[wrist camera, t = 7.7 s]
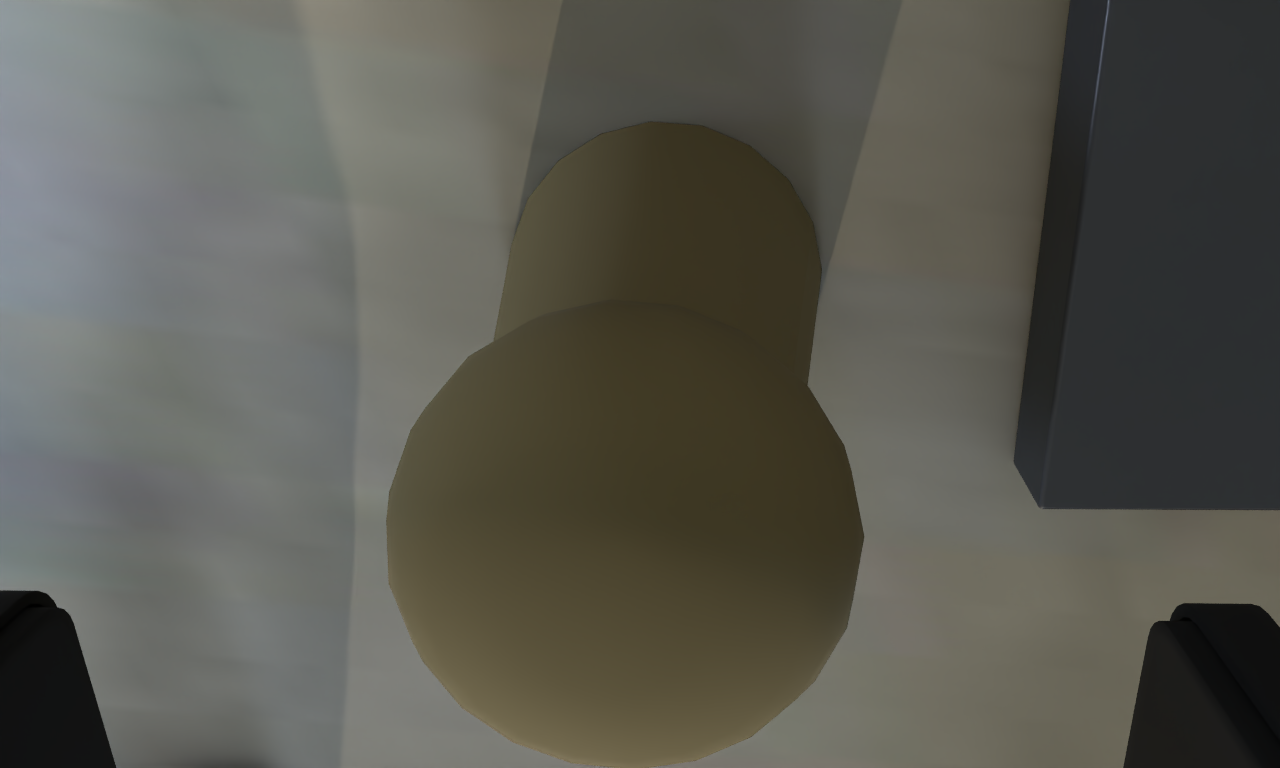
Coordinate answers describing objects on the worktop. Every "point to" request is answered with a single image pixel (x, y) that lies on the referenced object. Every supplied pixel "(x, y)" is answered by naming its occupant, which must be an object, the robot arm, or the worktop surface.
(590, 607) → the cork
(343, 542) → the worktop surface
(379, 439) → the worktop surface
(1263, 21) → the scale
